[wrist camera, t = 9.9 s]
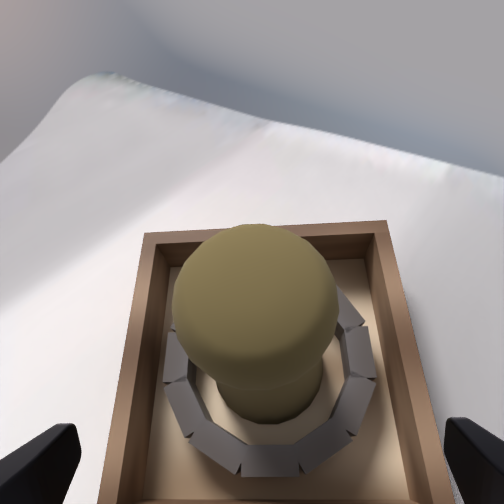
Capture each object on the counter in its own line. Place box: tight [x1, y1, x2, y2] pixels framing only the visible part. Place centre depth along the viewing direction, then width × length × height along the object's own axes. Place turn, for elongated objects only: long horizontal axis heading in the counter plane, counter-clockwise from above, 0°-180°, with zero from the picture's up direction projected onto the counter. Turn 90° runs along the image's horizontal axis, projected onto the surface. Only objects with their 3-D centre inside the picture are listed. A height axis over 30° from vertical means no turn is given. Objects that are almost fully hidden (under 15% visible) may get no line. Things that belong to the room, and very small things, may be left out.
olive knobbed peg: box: [171, 224, 339, 425], centre depth 14 cm, size 6×6×11 cm
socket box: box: [97, 220, 455, 504], centre depth 18 cm, size 14×14×4 cm
